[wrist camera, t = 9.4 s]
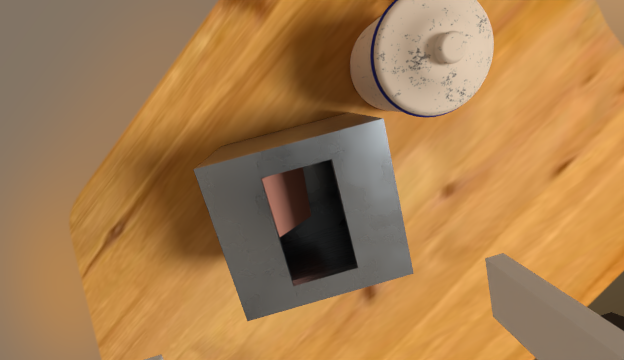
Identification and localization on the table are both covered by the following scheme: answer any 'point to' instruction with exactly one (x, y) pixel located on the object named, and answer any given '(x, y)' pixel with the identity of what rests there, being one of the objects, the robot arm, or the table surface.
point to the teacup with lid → (423, 56)
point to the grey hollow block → (324, 213)
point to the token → (287, 199)
